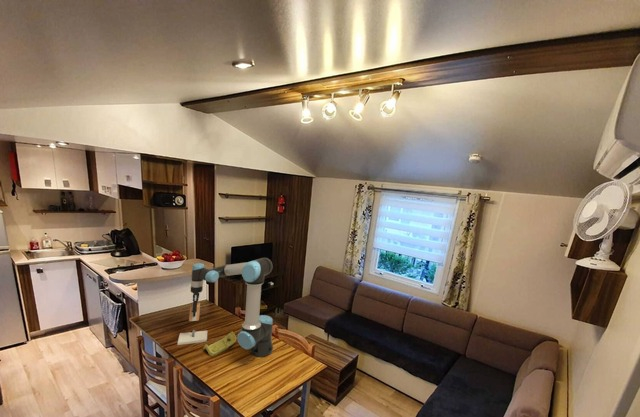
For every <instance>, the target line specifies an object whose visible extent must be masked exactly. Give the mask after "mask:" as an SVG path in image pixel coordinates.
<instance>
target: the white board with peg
mask: <svg viewBox="0 0 640 417" xmlns="http://www.w3.org/2000/svg"><path fill="white" fill-rule="evenodd" d="M207 340H208V330H200V331H196V330H195V329H192V332H191V331H188V332H180V333H179V336H178V339H177V346H181V345H187V344H188V345H189V344H198V343H199V344H200V343H205V342H207Z"/></svg>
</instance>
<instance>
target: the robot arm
mask: <svg viewBox="0 0 640 417" xmlns="http://www.w3.org/2000/svg"><path fill="white" fill-rule="evenodd" d="M273 267H274V266H273V263H272V260H271V259H269V258H268V257H261V258H257V259H254V260H251V261H248V262H240V263H232V264H223V265H221V266H220V265H219V266H217V267H214V268H213V267H212V268H206V267H205V264H204V263H201V262H198V263H197V262H196V263H194V264H193V265H192V268H191V280H190V281H189V282H190V292H191V293H193V295H192V303H193V311H191V312H192V321H191V322H194V321H195V322H197V321H196V315H197V303H198V302H199V298H200V294H201V293H202V292H203V287H204V286H203V285H204V282H205V281H206V282H209V283H215V282H216V281H217V280H219V278H222V277H228V276H235V275H241V277H242V278H243V281H244V283H245V284H246V285H247V286H246V297H245V298H246V302H245V313H244V315H245V317H244V322H242V324H241V331H240V332H238V334H237V335H236V338H237V339H236V340H237V342H238V344H239V346H240V347H241V348H243V349H244V350H249V352H250V354H251V355H252V356H254V357H258V358H264V357H265V358H266V357H267V356H269V355H271V354H272V353H273V351H274V345H273V341H272V333H273V326H274V325H273V324H274V323H273V322H274V320H273V318H272V317H271V316H269V315H266V314H264V315H263V314H261V315H260V311H261V310H260V309H261V299H262V298H261V295H262V285H263V284H264V283H265V276H268V275H269V274H270V273H271V272H273V271H272V270H273Z"/></svg>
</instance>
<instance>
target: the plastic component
mask: <svg viewBox="0 0 640 417" xmlns="http://www.w3.org/2000/svg"><path fill="white" fill-rule="evenodd" d="M237 340H238V339H237V335H236V334H235V332H234V331H230V332H229V333H228V334H227V335H225V336H223V337H222V339H219V340H217V341H215V342H213V343H211V344H207V343H206V344H205V345H204V346H203V347H202V348H203V350H204V351H205V350H206V351H207V352H208V355H209V356H210V357H215V356H217V355H218V354H219V355H220V354H221V353H222V352H224V351H226V350H228V349H229V348H230V347H231V346H233V345H234V344H235V343H236V341H237Z"/></svg>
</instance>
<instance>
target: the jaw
mask: <svg viewBox="0 0 640 417" xmlns="http://www.w3.org/2000/svg"><path fill="white" fill-rule="evenodd" d="M191 311H193V302H190V307H189V318H188V321H189V322H193V321H192V312H191ZM200 311H201V301H200V302H199V301H198V303H197V315H196V321H195V322H197V321H199V319H200Z"/></svg>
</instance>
